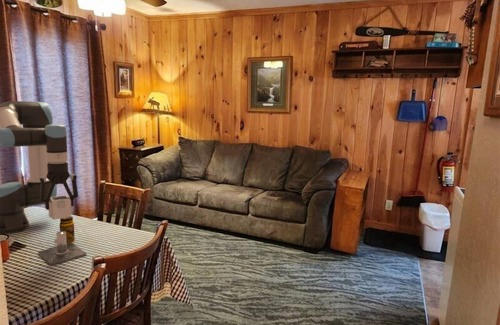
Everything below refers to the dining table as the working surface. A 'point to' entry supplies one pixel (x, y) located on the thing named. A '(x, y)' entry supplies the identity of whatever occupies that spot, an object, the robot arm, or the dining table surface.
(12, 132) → the robot arm
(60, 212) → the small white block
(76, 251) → the plate
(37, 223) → the dining table surface
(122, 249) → the dining table surface
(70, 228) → the condiment
